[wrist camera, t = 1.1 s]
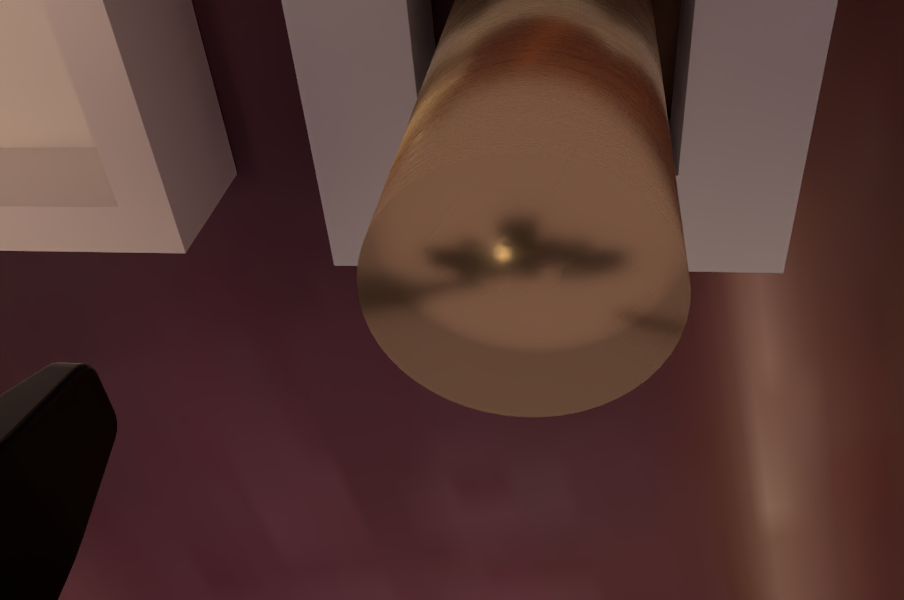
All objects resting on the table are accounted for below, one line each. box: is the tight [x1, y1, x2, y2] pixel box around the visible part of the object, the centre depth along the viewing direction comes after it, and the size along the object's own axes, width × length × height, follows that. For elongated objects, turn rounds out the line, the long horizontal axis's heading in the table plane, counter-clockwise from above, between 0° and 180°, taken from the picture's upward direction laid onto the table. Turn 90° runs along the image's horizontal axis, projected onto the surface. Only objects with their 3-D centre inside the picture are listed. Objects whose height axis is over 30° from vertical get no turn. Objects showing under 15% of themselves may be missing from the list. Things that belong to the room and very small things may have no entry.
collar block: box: [281, 0, 838, 273], centre depth 17 cm, size 10×10×2 cm
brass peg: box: [357, 0, 691, 417], centre depth 14 cm, size 4×4×10 cm
